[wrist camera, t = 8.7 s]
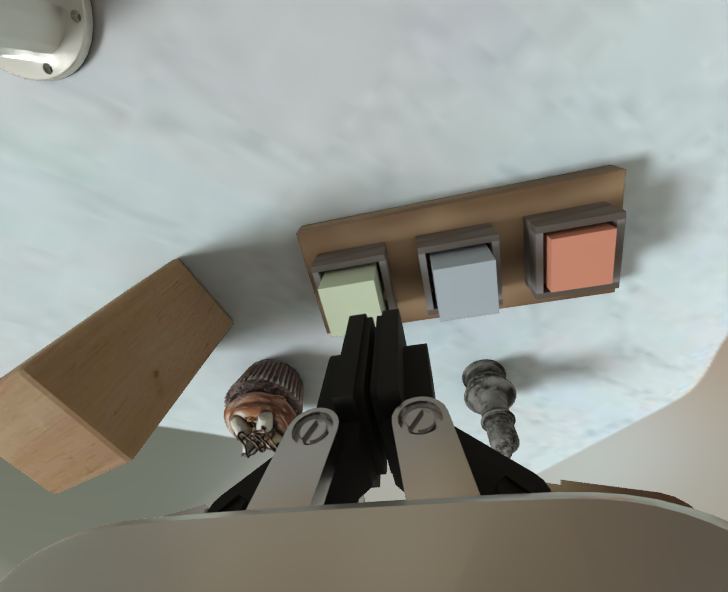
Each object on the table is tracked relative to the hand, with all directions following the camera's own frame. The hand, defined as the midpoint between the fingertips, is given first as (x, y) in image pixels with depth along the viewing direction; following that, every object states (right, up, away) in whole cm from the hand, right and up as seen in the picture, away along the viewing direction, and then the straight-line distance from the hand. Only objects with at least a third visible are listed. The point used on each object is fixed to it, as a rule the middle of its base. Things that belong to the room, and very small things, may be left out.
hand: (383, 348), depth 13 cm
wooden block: (-23, 0, +33) cm, 40 cm away
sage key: (-1, +2, +24) cm, 24 cm away
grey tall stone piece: (+14, -8, +34) cm, 38 cm away
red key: (+18, +7, +23) cm, 30 cm away
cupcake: (-13, -10, +37) cm, 40 cm away
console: (+9, +6, +27) cm, 29 cm away
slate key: (+8, +4, +22) cm, 24 cm away
